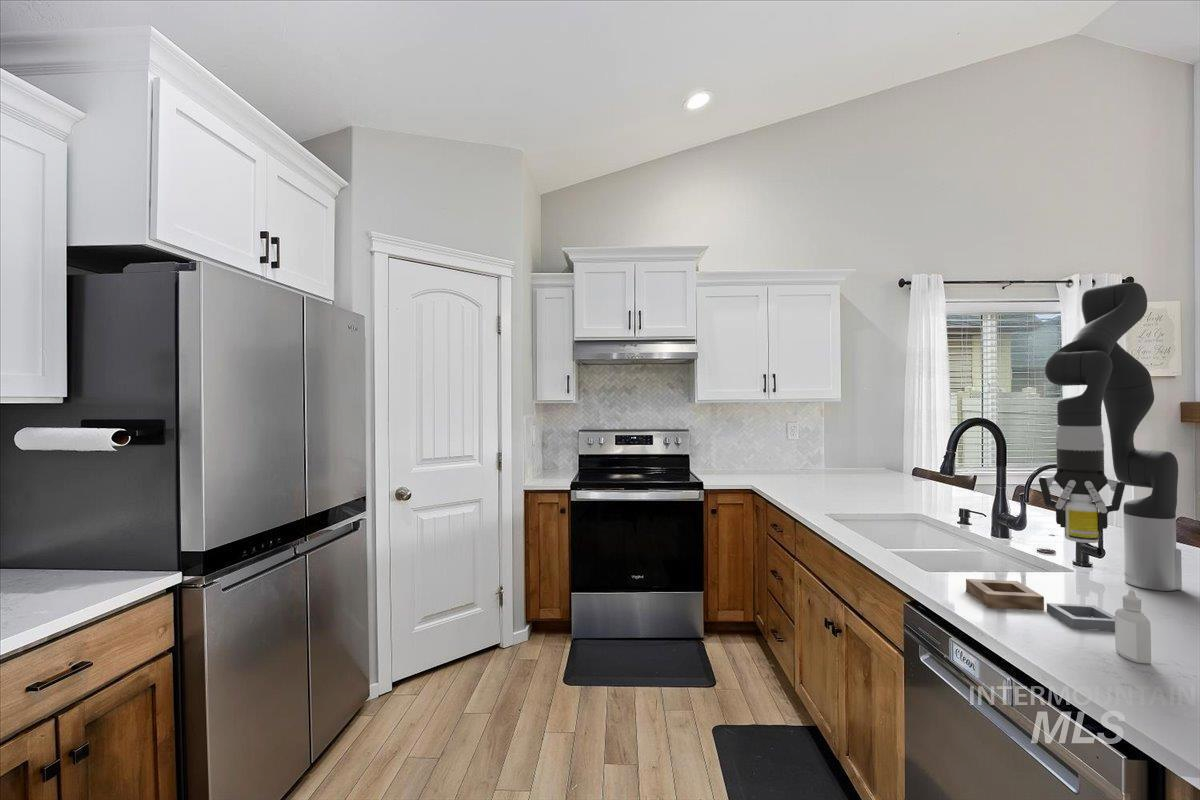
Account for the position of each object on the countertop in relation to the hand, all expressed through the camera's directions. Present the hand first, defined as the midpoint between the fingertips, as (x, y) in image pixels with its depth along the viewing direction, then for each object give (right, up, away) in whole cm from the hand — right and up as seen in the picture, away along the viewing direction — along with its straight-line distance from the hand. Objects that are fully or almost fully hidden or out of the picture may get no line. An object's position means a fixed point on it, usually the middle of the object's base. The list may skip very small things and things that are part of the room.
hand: (1081, 528), depth 117 cm
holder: (0, -19, 0) cm, 19 cm away
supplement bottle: (0, -3, 0) cm, 3 cm away
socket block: (-7, -19, +12) cm, 24 cm away
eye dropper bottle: (-5, -20, -17) cm, 26 cm away
